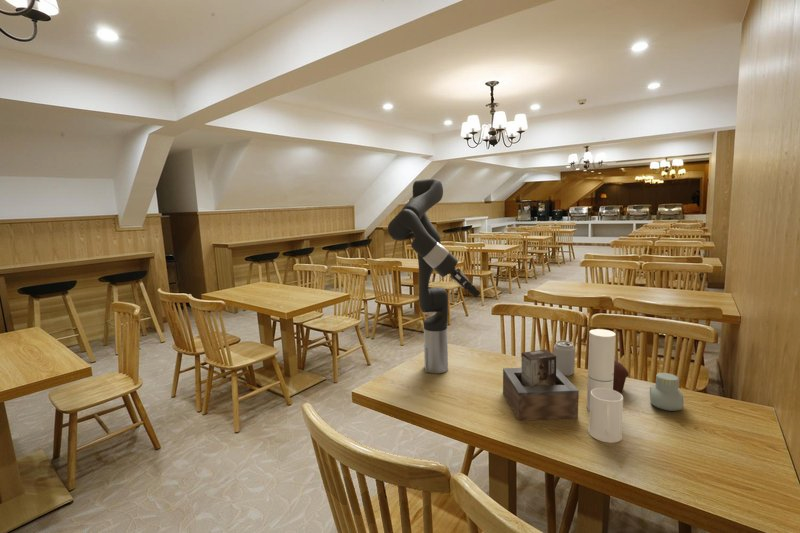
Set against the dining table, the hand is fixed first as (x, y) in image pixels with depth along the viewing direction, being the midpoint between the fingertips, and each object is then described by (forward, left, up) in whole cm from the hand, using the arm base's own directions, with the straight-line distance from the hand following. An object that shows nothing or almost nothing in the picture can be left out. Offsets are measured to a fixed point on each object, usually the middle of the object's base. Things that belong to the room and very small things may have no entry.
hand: (475, 292), depth 131 cm
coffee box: (+19, -6, -36) cm, 41 cm away
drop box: (+19, -7, -37) cm, 42 cm away
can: (+37, +16, -37) cm, 54 cm away
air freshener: (+58, -11, -37) cm, 69 cm away
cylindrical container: (+37, -11, -37) cm, 53 cm away
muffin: (+47, +2, -37) cm, 60 cm away
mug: (+31, -26, -37) cm, 55 cm away
